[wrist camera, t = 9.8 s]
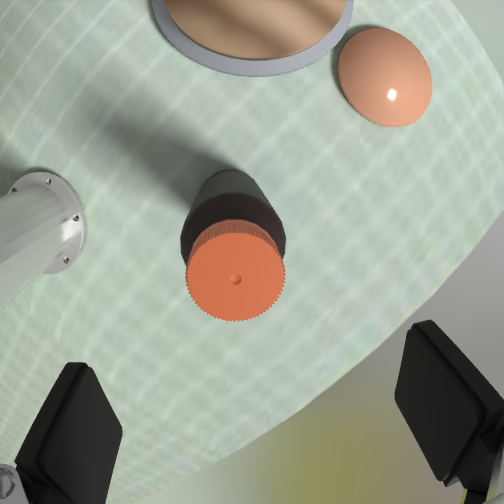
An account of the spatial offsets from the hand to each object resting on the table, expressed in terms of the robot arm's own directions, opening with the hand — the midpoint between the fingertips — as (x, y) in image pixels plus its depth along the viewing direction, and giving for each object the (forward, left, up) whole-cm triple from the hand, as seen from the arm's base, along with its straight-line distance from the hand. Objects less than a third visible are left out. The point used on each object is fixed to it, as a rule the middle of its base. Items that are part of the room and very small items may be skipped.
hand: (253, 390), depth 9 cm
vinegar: (0, 0, -28) cm, 28 cm away
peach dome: (+19, +13, -28) cm, 36 cm away
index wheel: (+5, +24, -26) cm, 36 cm away
